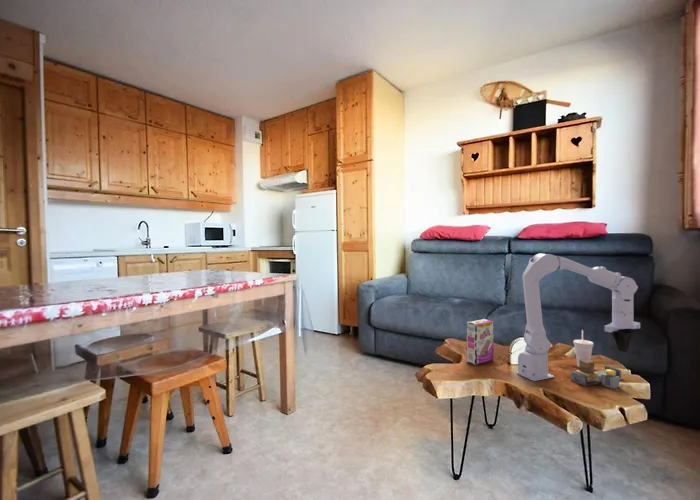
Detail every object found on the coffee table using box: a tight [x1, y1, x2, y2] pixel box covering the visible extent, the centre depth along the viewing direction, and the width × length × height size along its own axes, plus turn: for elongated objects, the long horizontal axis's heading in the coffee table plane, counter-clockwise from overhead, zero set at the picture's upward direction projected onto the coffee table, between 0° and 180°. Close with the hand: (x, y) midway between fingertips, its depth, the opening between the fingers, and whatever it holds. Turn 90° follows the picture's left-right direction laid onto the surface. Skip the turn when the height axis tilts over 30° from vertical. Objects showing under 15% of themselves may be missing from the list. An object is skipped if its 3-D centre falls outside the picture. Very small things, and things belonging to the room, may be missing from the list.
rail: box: [570, 364, 622, 387], centre depth 118 cm, size 17×5×3 cm, turn 108°
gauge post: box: [601, 374, 620, 390], centre depth 112 cm, size 3×4×4 cm
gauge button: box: [606, 369, 616, 385], centre depth 112 cm, size 3×3×5 cm
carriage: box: [574, 359, 598, 382], centre depth 117 cm, size 5×4×6 cm
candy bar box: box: [466, 318, 495, 366], centre depth 138 cm, size 11×5×16 cm, turn 121°
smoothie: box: [573, 329, 594, 368], centre depth 129 cm, size 6×6×14 cm
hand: (622, 350), depth 116 cm, fingers closed
